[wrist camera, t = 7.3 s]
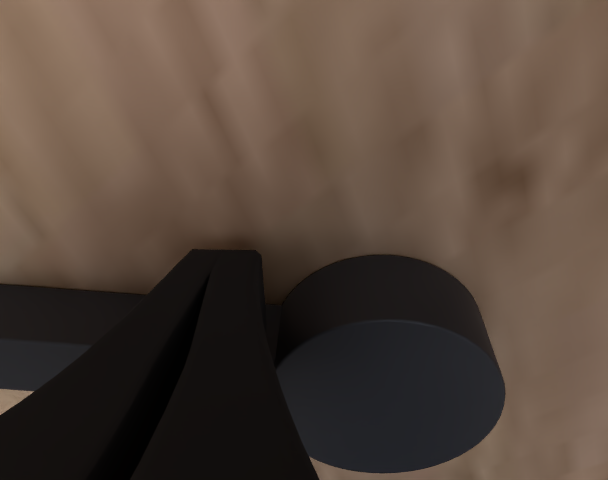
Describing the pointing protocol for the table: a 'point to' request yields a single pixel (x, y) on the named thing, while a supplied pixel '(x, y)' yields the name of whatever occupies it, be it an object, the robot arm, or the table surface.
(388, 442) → the coffee scoop
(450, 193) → the table surface
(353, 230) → the table surface
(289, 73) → the table surface
